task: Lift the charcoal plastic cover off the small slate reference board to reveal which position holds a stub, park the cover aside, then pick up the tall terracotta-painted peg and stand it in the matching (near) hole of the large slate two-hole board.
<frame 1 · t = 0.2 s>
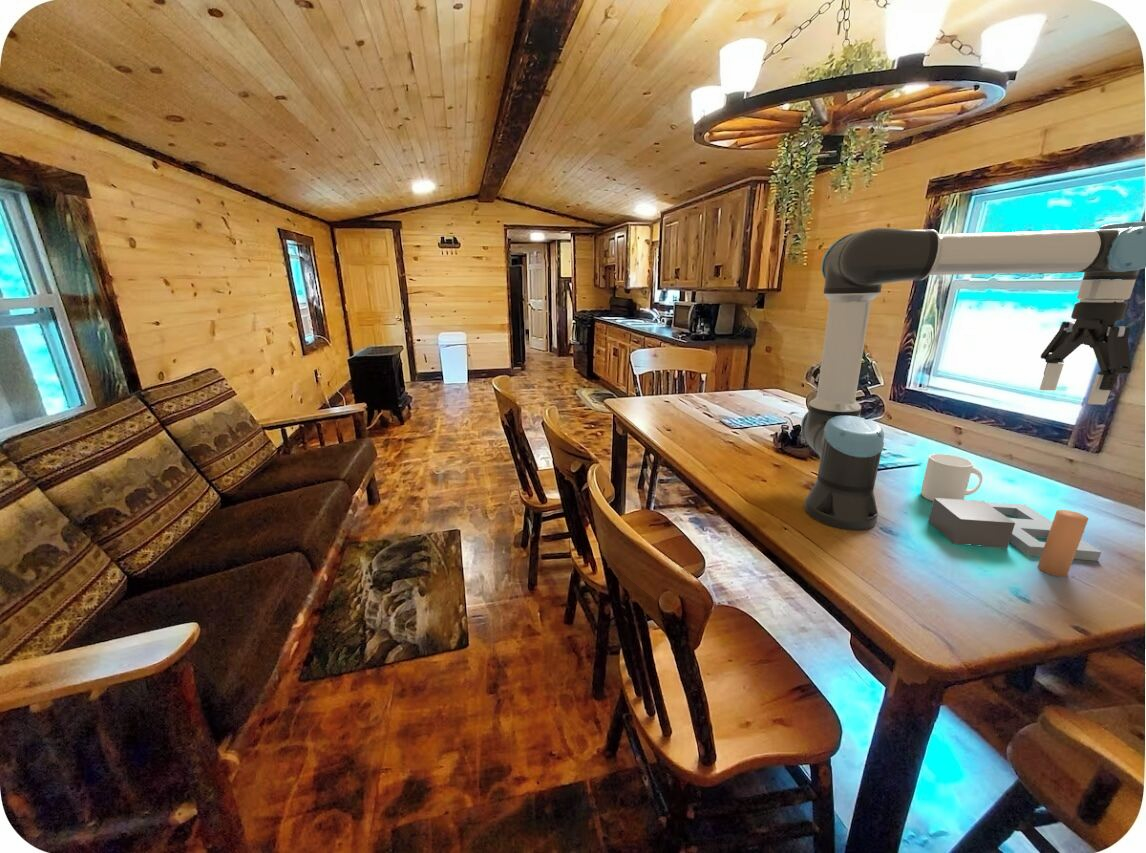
hand: (1070, 396, 102), 28 cm above the table, fingers open, 13 cm apart
socket board: (1024, 531, 98), on the table
mug: (948, 499, 114), on the table
peg: (1052, 570, 85), on the table
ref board: (965, 533, 98), on the table
cover: (965, 533, 98), on the table
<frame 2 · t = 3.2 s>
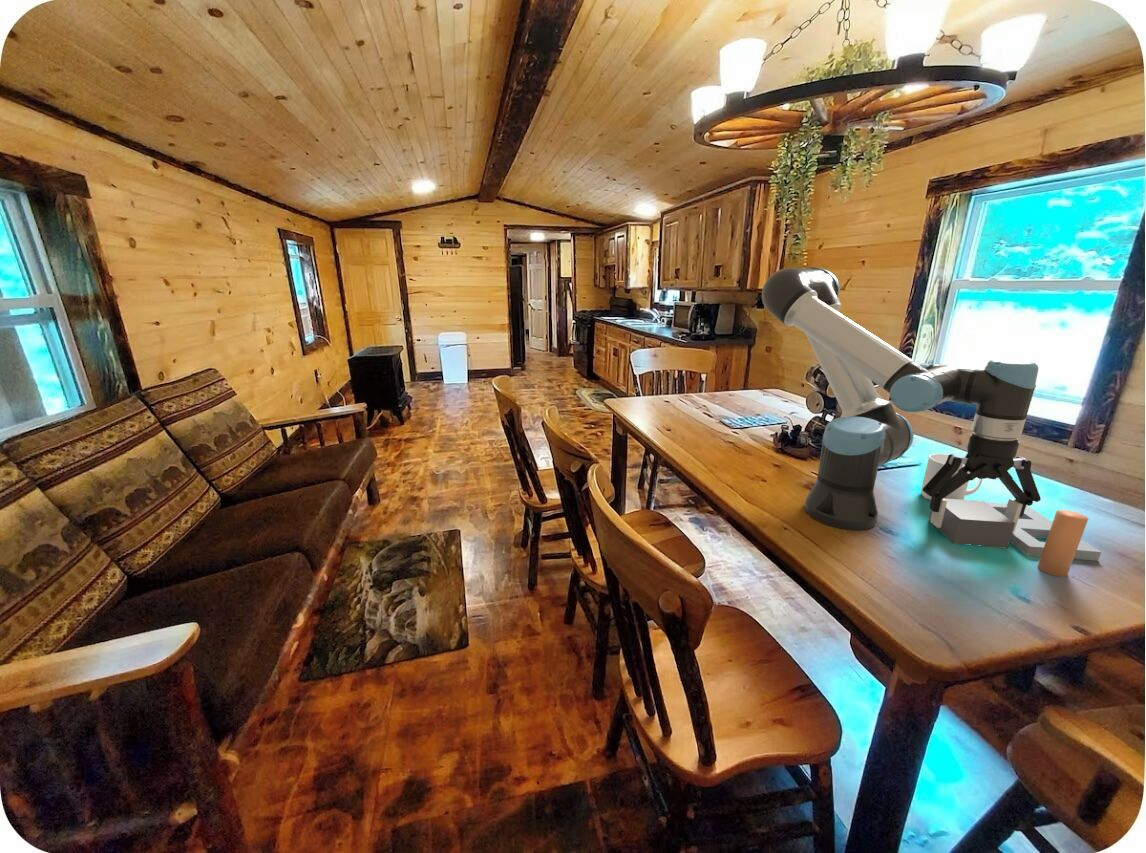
hand: (971, 527, 97), 2 cm above the table, fingers open, 13 cm apart
nothing on the table moved.
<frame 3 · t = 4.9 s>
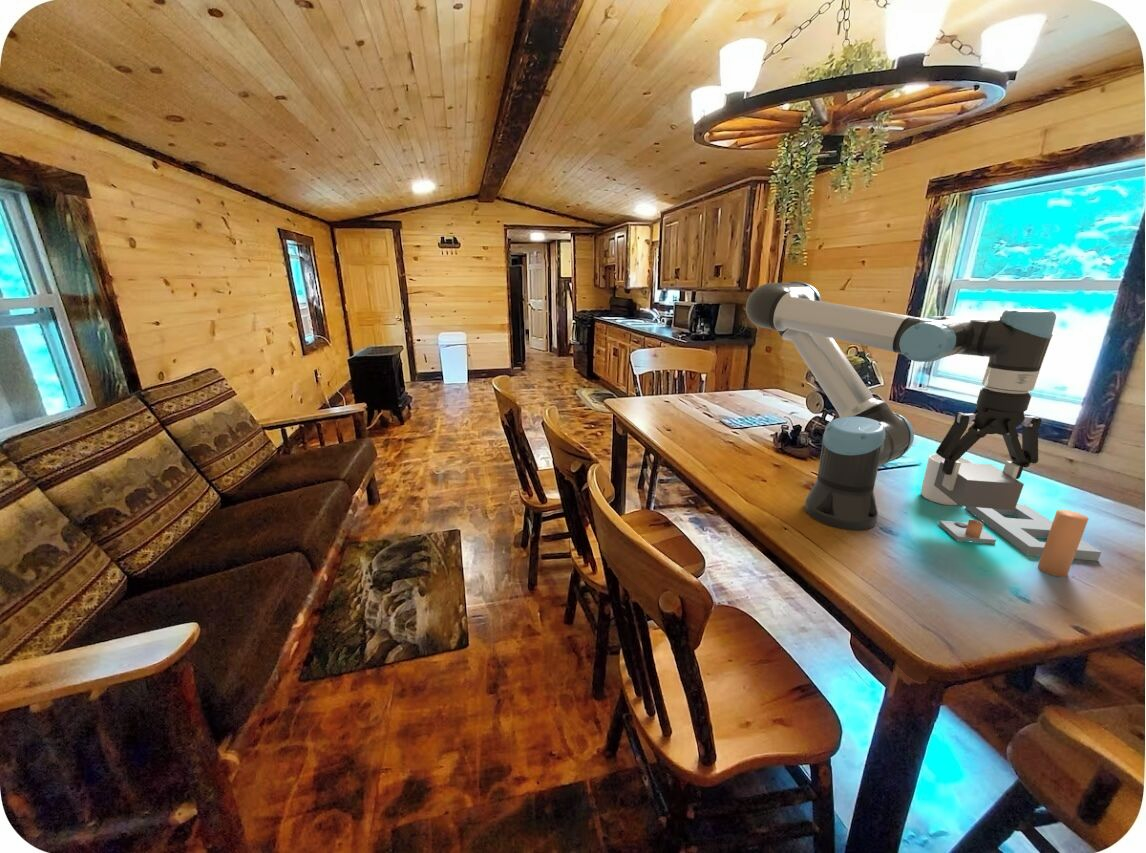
hand: (975, 489, 95), 11 cm above the table, fingers closed on cover, 10 cm apart
cover: (971, 497, 96), point 9 cm above the table, touching gripper
everything else where it was.
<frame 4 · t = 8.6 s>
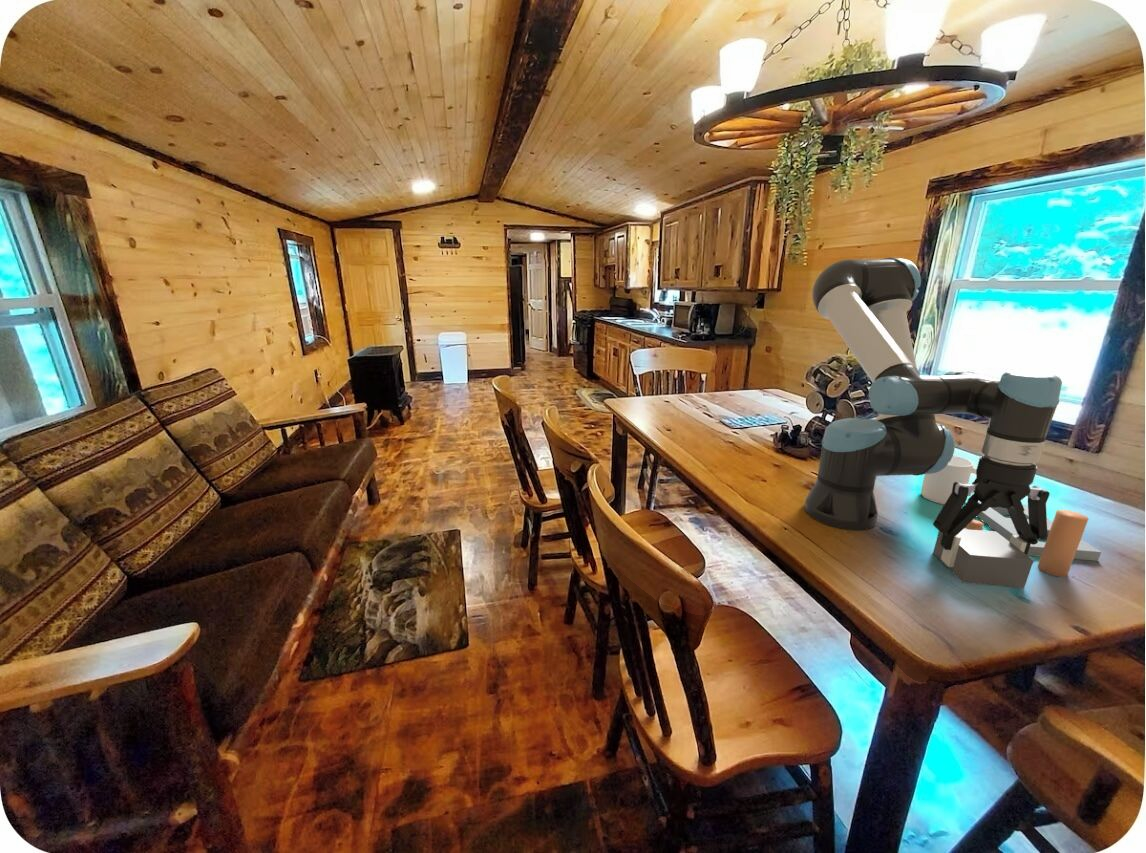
hand: (977, 565, 86), 1 cm above the table, fingers closed on cover, 10 cm apart
cover: (975, 569, 86), on the table, touching gripper
everything else where it was.
when the fingers open (1 cm above the table, at t = 9.0 s): cover stays where it is, on the table.
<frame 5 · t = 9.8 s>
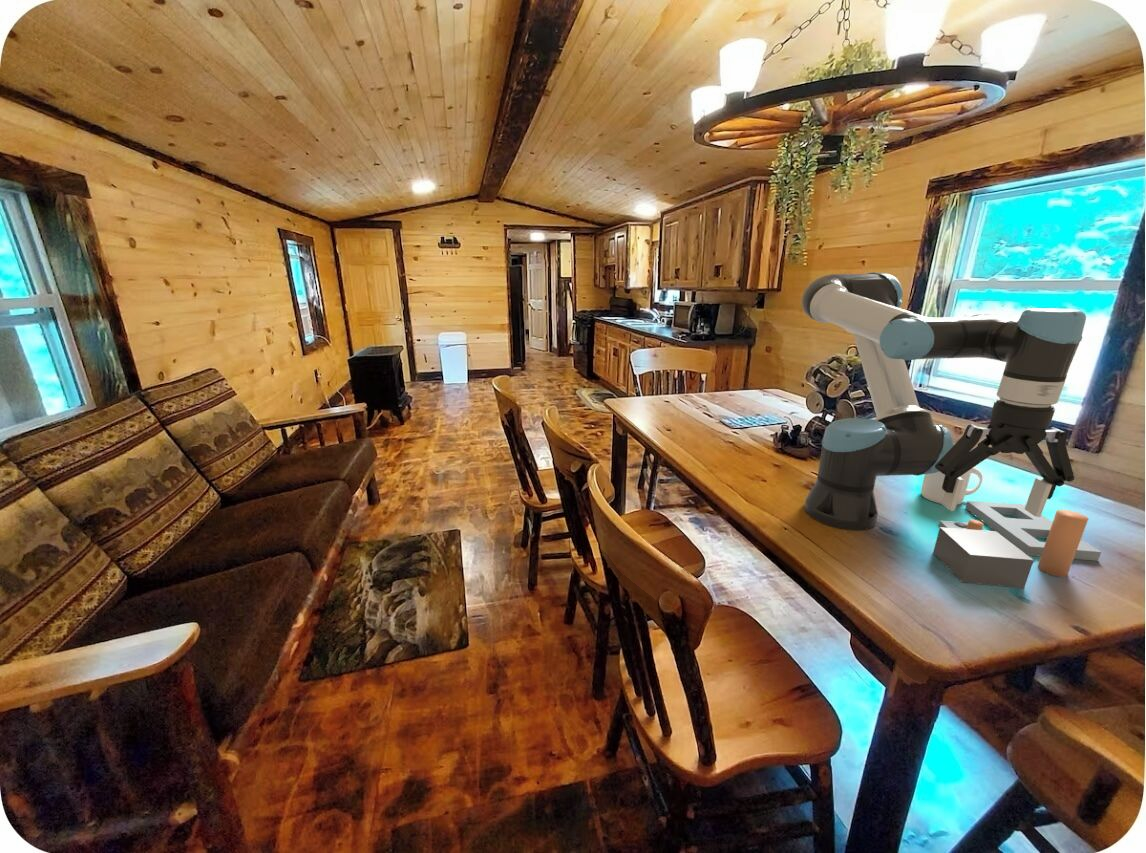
hand: (989, 510, 83), 13 cm above the table, fingers open, 13 cm apart
cover: (975, 569, 86), on the table
everything else where it was.
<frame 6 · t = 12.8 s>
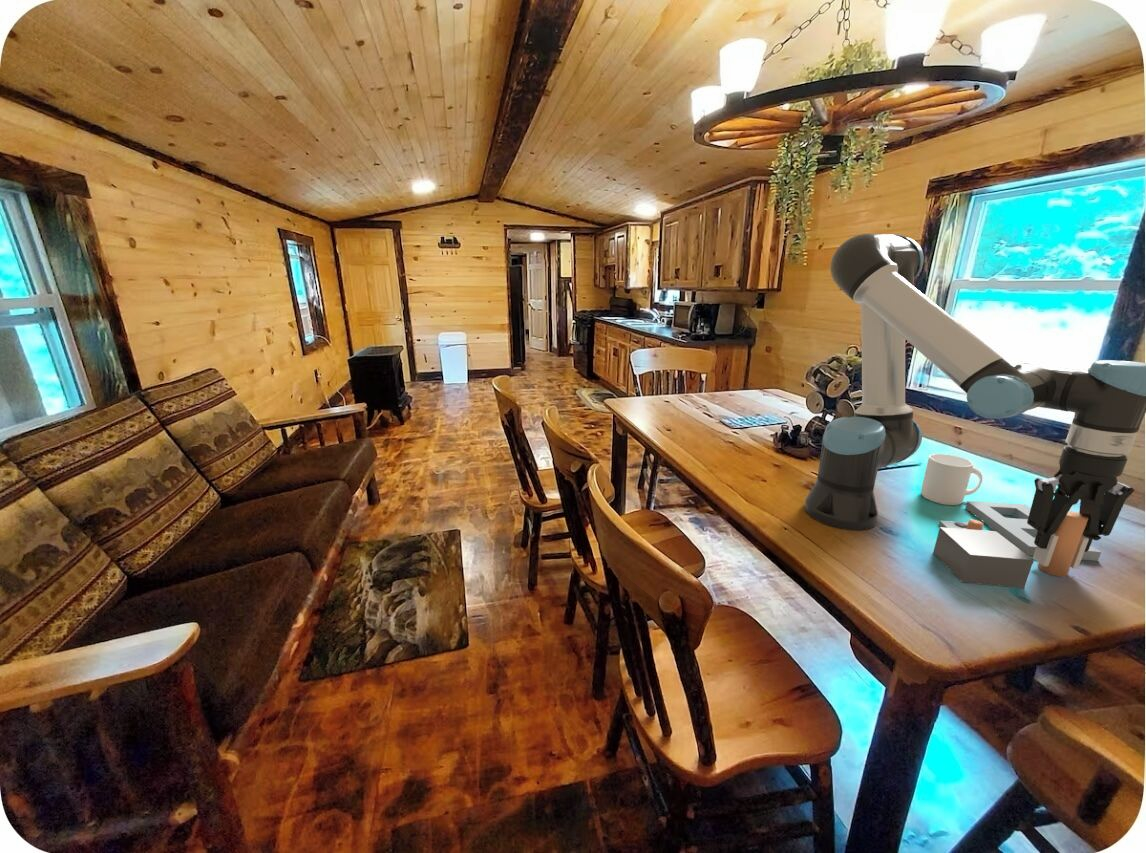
hand: (1054, 562, 85), 2 cm above the table, fingers closed on peg, 4 cm apart
peg: (1052, 570, 85), on the table, touching gripper
everything else where it was.
when the fingers open (3 cm above the table, at t = 17.3 s): peg stays where it is, resting in socket board.
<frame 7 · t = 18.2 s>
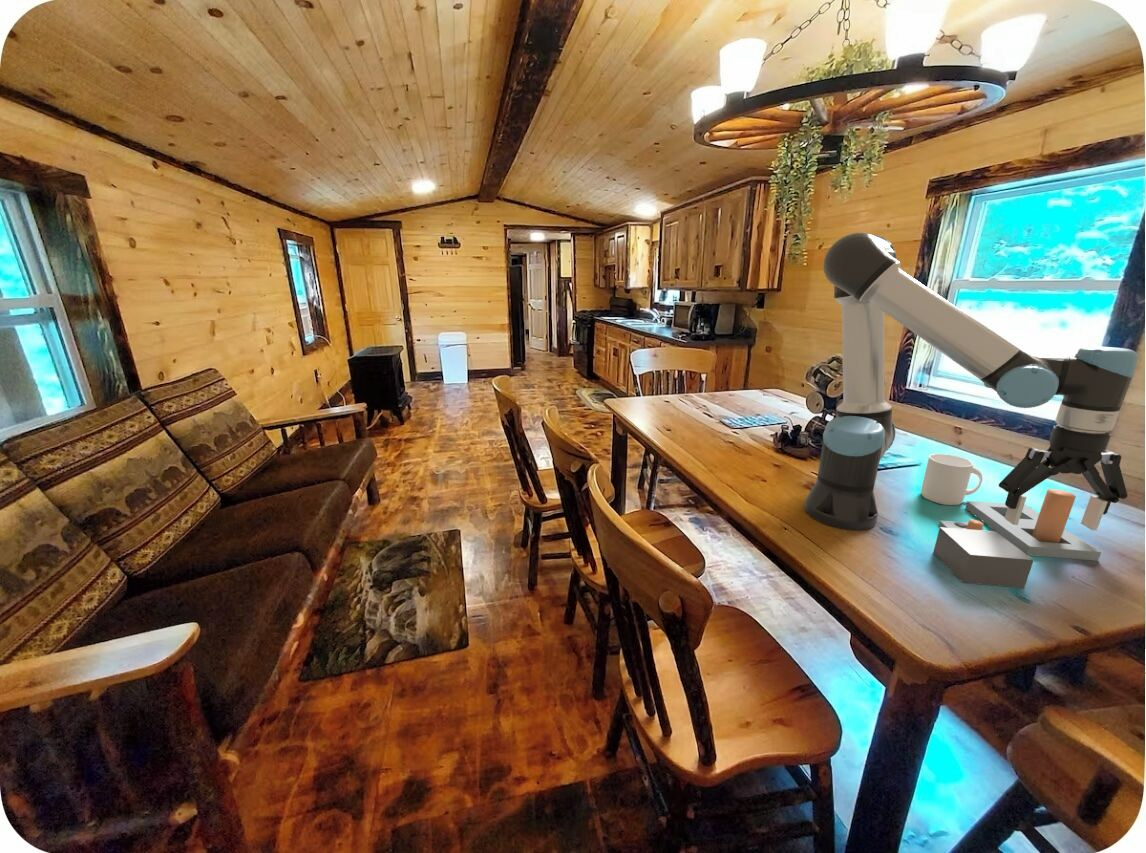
hand: (1049, 524, 92), 5 cm above the table, fingers open, 13 cm apart
peg: (1043, 544, 93), resting in socket board
everything else where it was.
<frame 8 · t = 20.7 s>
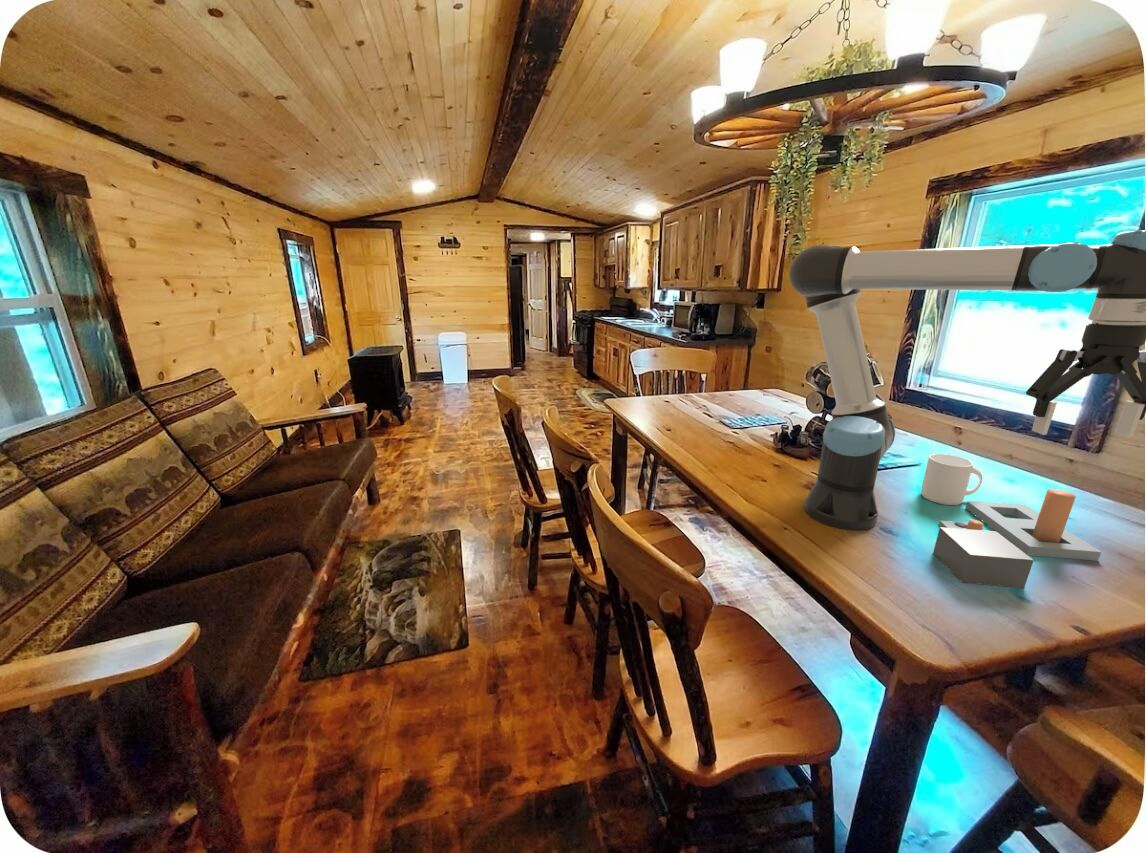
hand: (1080, 434, 86), 25 cm above the table, fingers open, 13 cm apart
nothing on the table moved.
at the end: peg 0.2 cm from the target spot on the socket board, point 0.0 cm above the socket board's base; peg tilted 0°; cover moved 15.3 cm from its start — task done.
